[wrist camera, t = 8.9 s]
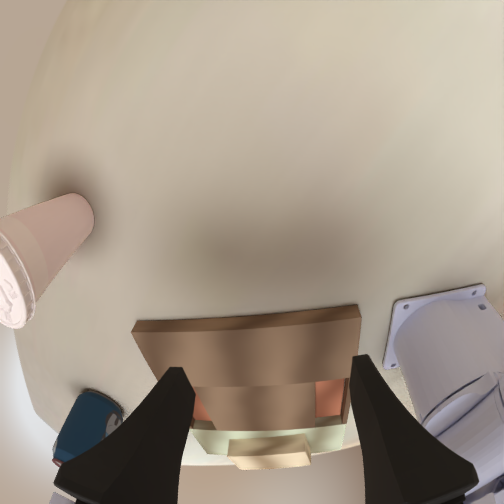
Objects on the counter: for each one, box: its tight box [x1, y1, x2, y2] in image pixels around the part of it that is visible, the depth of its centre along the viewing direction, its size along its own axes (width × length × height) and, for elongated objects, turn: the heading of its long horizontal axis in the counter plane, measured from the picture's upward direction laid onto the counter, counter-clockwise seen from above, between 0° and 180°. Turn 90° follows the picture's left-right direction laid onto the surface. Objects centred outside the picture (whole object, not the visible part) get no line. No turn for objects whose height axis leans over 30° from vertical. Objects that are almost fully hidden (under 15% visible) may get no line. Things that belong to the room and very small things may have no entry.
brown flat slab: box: [131, 305, 362, 455], centre depth 26 cm, size 18×24×2 cm
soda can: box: [52, 391, 123, 467], centre depth 26 cm, size 7×7×12 cm
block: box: [227, 433, 311, 470], centre depth 28 cm, size 9×5×2 cm, turn 107°
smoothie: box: [0, 193, 94, 329], centre depth 13 cm, size 6×6×14 cm
